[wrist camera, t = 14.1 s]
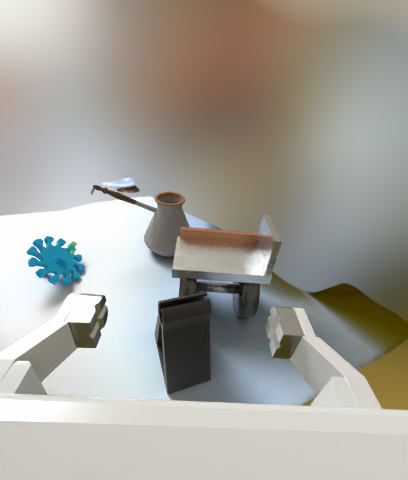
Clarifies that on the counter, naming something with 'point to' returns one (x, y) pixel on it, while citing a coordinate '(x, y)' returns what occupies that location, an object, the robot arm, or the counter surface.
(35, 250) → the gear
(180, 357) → the phone stand
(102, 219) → the counter surface
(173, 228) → the coffee pot
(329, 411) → the robot arm
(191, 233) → the trolley
